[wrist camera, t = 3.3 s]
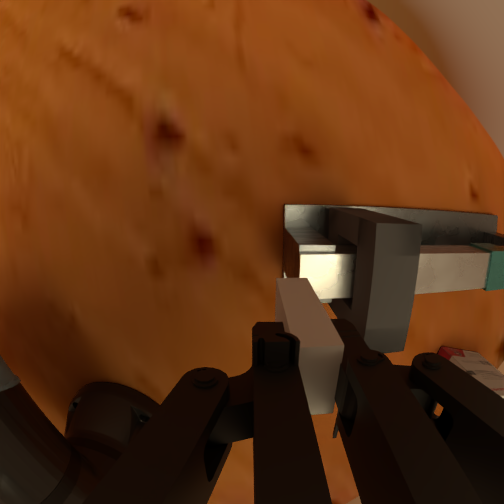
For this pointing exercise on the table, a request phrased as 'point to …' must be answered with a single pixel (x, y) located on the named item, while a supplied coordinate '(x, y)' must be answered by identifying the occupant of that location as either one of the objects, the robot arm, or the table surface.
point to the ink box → (476, 367)
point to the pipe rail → (432, 228)
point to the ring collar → (378, 274)
